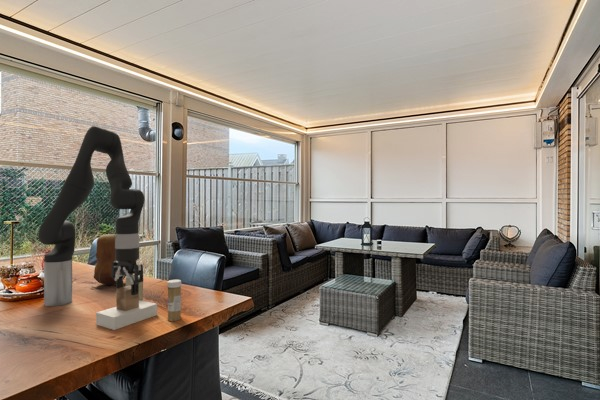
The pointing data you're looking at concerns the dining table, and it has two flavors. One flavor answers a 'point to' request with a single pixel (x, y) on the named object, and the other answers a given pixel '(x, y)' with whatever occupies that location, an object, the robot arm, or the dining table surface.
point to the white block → (125, 315)
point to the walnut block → (126, 299)
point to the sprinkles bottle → (174, 300)
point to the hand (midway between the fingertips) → (126, 292)
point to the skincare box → (128, 283)
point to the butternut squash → (105, 259)
